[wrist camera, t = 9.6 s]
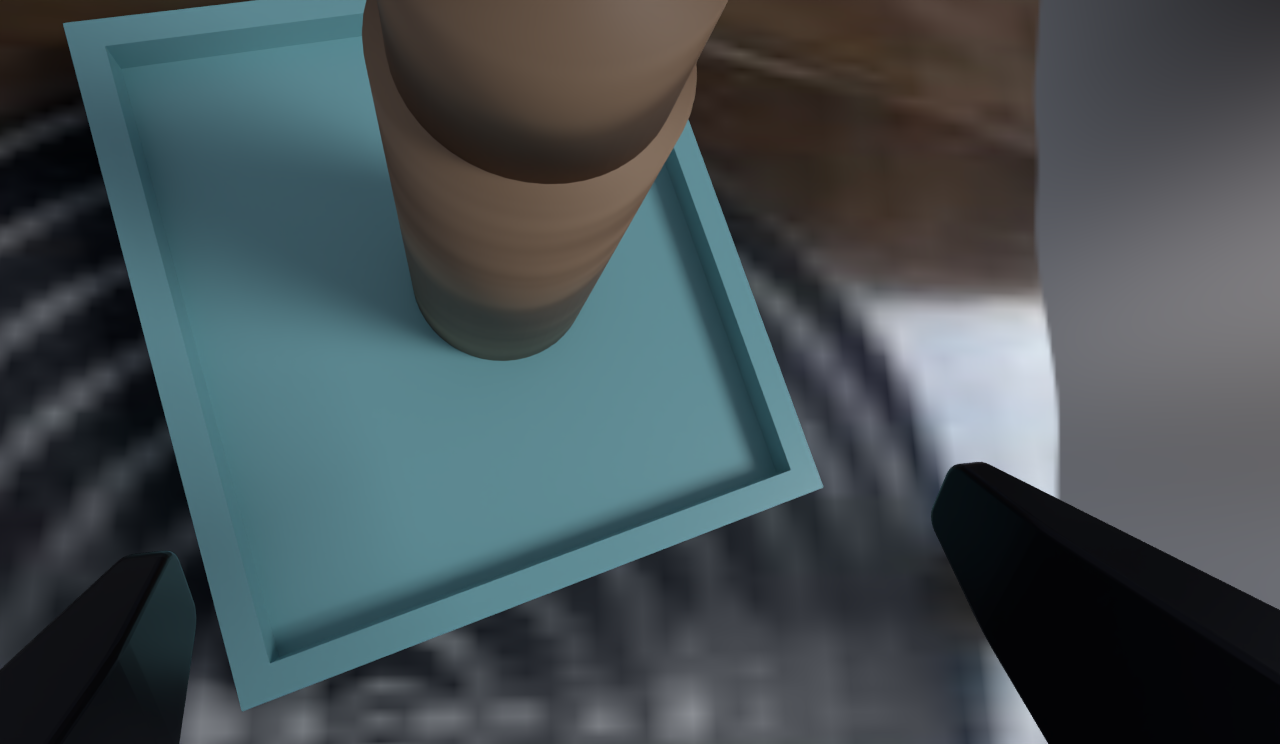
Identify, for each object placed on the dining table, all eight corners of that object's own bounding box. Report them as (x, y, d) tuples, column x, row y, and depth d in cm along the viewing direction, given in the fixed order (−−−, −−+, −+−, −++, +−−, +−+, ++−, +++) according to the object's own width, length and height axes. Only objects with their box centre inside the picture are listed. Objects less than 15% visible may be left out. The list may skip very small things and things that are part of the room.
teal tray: (793, 490, 24) (823, 487, 22) (263, 693, 19) (241, 711, 17) (615, -1, 26) (628, -44, 24) (97, 68, 21) (62, 23, 19)
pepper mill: (566, 377, 21) (798, 68, 7) (392, 338, 20) (215, -124, 6) (599, 222, 23) (855, -332, 8) (435, 178, 22) (378, -545, 7)
